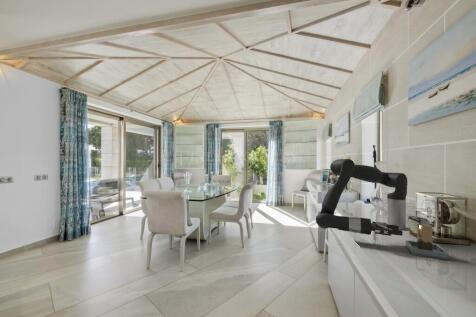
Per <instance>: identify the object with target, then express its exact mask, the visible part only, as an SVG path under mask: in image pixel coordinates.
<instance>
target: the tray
mask: <svg viewBox="0 0 476 317" xmlns="http://www.w3.org/2000/svg"><path fill="white" fill-rule="evenodd" d="M405 247H406V248H407V249H408V251H409V252H410V254H411V255H413V256H419V257H425V258H433V259H438V260H444V261H445V260H446V261H449V253H448V252H447V251H446V250H445V249H444V248H443V247H441V246H440V245H439V244H437V243H433V251H430V250H423V249H418V248H417V241H414V240H407V239H406V240H405Z"/></svg>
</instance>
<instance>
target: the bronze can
mask: <svg viewBox="0 0 476 317" xmlns="http://www.w3.org/2000/svg"><path fill="white" fill-rule="evenodd" d="M433 238H434V237H433V225H431V224H430V225H427V224H417V238H416V240H417V241H416V242H417V248H418V249H423V250H430V251H433V244H434V243H433V240H434V239H433Z"/></svg>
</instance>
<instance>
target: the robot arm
mask: <svg viewBox="0 0 476 317" xmlns="http://www.w3.org/2000/svg"><path fill="white" fill-rule="evenodd" d="M329 168H330V171H331V173H333V174H334V175H335V176H338V178H337V179H336V181H335V182H334V184H332V186H331V187H330V188H329V189H328V190H327V192H326V194H325V195H324V198H323V201H322V203H321V209H320V212H319V213H318V214H317V215H316V217H315V223H316V224H317V226H318V227H319V228H321V229H323V230H325V229H326V230H327V229H329V228H330V229H336V230H338V231H344V232H350V233H354V234H361V235H367V236H370V235H372V232H374V234H375V235H381V236H389V237H391V236H392V235H395V236H403V231H404V230H406V229H407V198H406V197H407V195H408V177H407V175H406V174H405V173H402V172H387V171H385V172H384V171H381V170H380V169H379V168H377V167H375V166H372V165H365V164H356V163H355V162H354V161H353V160H352V159H351V158H340V159H338V158H337V159H335V160H332V162H331V163H330V165H329ZM351 178H354V179H356V180H360V181H363V182H367V183H371V184H373V183H374V184H381V185H382V186H386V187H388V188H393V189H394V191H393V192H389V193H387V194H386V195H387V196H386V198H387V199H386V201H387V202H386V204H387V206H386V207H387V209H386V210H387V212H386V214H387V215H386V216H387V217H386V219H387V220H386V222H383V221H382V222H381V221H372V220H371V218H367V217H357V216H345V215H336V214H335V211H336V209H337V207H338V204H339V201H340V199H341V196H342V194H343V192H344V190H345V189H346V187H347V186H348V183H349V182H350V180H351Z"/></svg>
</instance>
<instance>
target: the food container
mask: <svg viewBox="0 0 476 317" xmlns="http://www.w3.org/2000/svg"><path fill="white" fill-rule="evenodd" d="M407 220H408V233H409V236H411V237H413V238H415V239H417V224H427V225H431V223H430V221H429V219H428V218H425V217H421V216H414V215H408V216H407Z"/></svg>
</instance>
